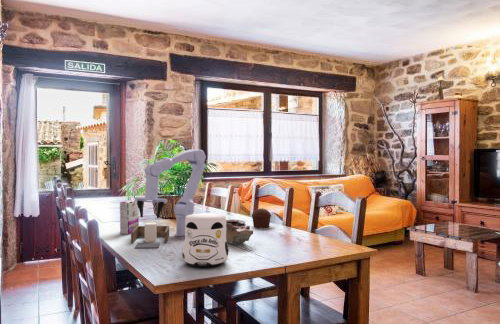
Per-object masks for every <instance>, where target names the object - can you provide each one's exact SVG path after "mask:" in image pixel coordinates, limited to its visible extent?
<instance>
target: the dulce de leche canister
mask: <svg viewBox="0 0 500 324" xmlns="http://www.w3.org/2000/svg"><path fill="white" fill-rule="evenodd" d="M226 220H227V217H226V215H224V214H220V213H205V212H203V213H193V214H191V215H187V216H186V218H185V236H184V243H183V246H182V259H183V261H184V262H185V263H186V264H187V265H189V266H193V267H199V268H209V267H216V266H220V265H223V264H224V263H225V262H227V260H228V257H229V244H228V242H227V241H226Z"/></svg>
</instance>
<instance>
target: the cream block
mask: <svg viewBox="0 0 500 324" xmlns="http://www.w3.org/2000/svg"><path fill="white" fill-rule="evenodd" d="M157 224H158V223H157V222H145V223H144V226H145V236H144V243H150V242H156V241H157V237H158V236H157V226H158V225H157Z"/></svg>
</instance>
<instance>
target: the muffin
mask: <svg viewBox="0 0 500 324" xmlns="http://www.w3.org/2000/svg"><path fill="white" fill-rule="evenodd" d="M251 218H252V224H253V228H257V229H268V228H270V224H271V218H272V214H271V212H270V211H269V210H268V209H265V208H256V209H255V210H254V211H253V212H252V214H251Z"/></svg>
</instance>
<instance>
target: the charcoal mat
mask: <svg viewBox="0 0 500 324" xmlns="http://www.w3.org/2000/svg"><path fill="white" fill-rule="evenodd" d="M160 245H161V242H156V241H149V242H137V243H136V245H135V246H134V249H136V250H137V249H140V250H141V249H144V250H145V249H159V247H160Z"/></svg>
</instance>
